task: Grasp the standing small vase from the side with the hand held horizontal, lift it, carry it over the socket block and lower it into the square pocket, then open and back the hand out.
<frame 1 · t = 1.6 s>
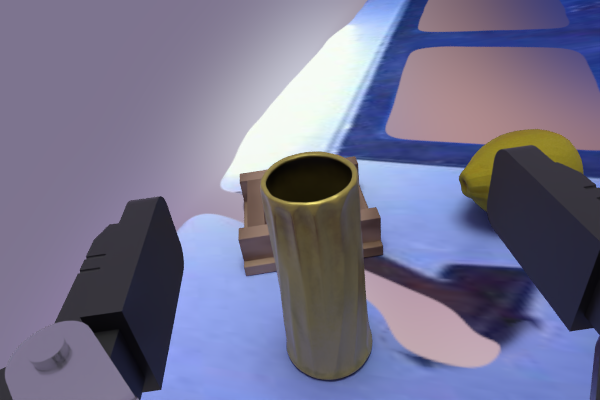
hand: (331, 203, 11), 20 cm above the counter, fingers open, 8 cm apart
socket block: (306, 222, 43), on the counter
vase: (329, 344, 32), on the counter
lemon: (511, 213, 41), on the counter
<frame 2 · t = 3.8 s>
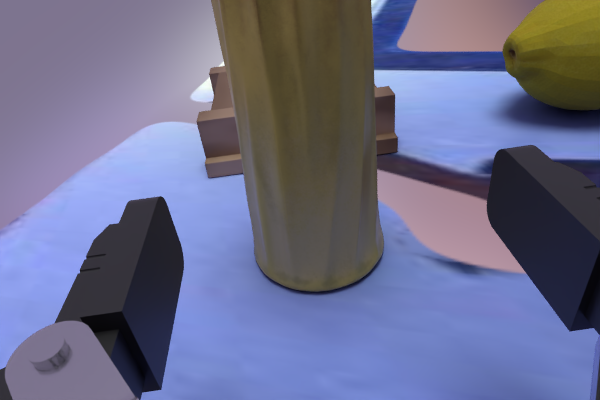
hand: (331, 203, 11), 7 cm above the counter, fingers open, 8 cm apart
socket block: (295, 125, 33), on the counter
vase: (319, 250, 21), on the counter
lemon: (570, 109, 30), on the counter
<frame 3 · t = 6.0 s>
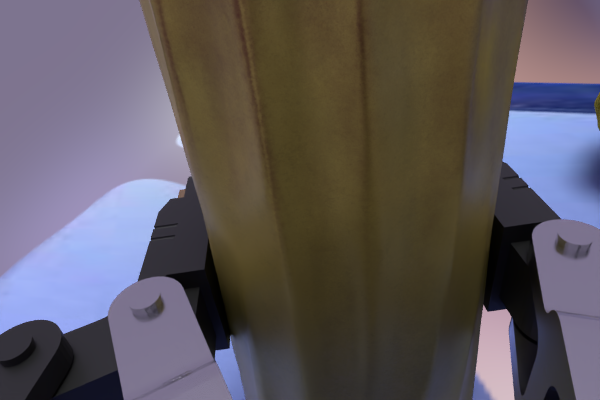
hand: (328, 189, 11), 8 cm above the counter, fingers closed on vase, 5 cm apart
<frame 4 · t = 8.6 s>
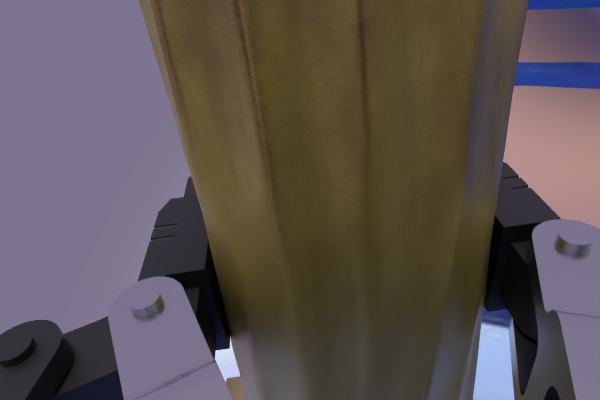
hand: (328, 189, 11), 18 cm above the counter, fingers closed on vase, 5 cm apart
when the fingers open (9 cm above the counter, at t = 11.4 s): vase stays where it is, resting on socket block.
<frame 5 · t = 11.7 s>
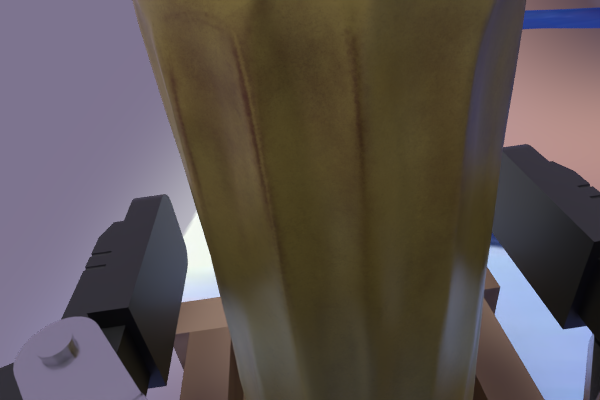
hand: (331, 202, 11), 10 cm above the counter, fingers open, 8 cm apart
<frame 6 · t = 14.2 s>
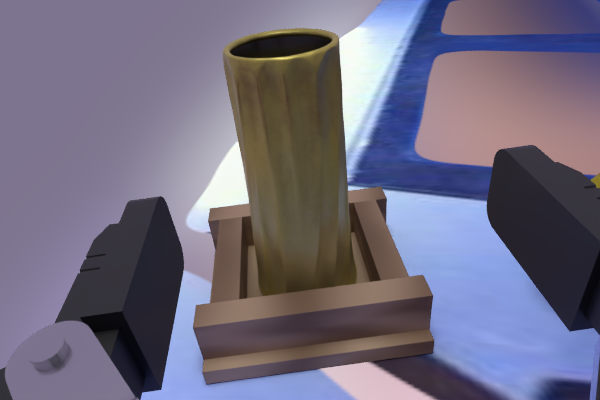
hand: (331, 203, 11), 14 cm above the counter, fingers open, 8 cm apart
socket block: (308, 287, 28), on the counter
vase: (307, 279, 27), point 1 cm above the counter, touching socket block
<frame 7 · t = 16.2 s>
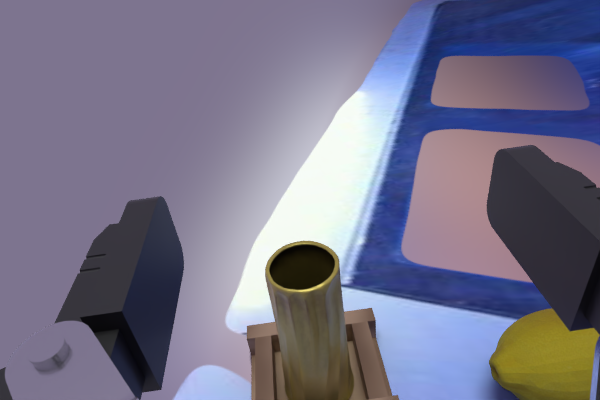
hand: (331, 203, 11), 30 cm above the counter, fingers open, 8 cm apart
socket block: (319, 388, 39), on the counter
vase: (319, 384, 39), point 1 cm above the counter, touching socket block
lemon: (545, 389, 37), on the counter
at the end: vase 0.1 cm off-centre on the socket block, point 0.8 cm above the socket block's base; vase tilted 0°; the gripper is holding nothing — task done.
